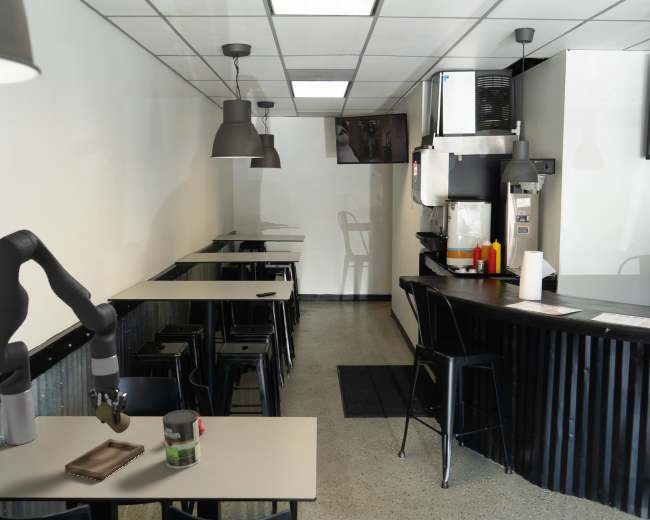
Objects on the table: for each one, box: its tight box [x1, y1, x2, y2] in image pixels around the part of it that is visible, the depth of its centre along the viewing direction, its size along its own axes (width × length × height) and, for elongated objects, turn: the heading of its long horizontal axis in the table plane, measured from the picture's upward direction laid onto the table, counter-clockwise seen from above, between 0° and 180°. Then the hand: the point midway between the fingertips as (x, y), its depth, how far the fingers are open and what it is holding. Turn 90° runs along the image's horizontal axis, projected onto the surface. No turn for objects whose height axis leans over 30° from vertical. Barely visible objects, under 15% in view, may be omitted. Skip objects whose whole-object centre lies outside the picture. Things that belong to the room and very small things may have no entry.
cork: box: [94, 403, 131, 434], centre depth 180 cm, size 6×6×11 cm
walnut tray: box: [64, 438, 145, 482], centre depth 178 cm, size 14×18×2 cm
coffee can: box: [161, 409, 202, 470], centre depth 177 cm, size 10×10×14 cm
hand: (110, 423), depth 180 cm, fingers closed on cork, 4 cm apart
